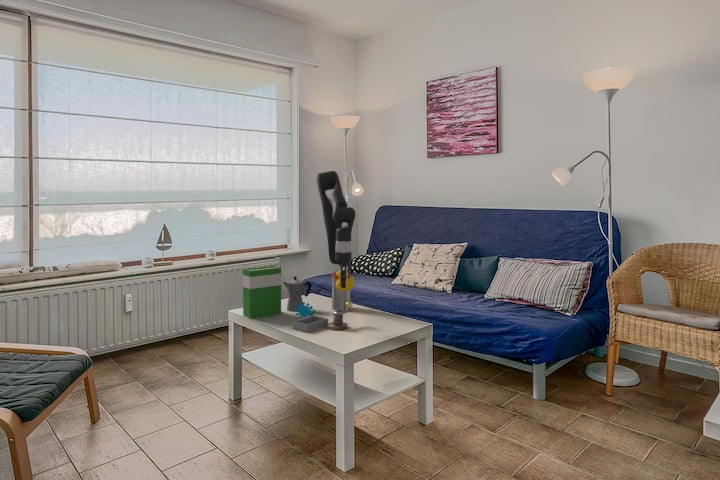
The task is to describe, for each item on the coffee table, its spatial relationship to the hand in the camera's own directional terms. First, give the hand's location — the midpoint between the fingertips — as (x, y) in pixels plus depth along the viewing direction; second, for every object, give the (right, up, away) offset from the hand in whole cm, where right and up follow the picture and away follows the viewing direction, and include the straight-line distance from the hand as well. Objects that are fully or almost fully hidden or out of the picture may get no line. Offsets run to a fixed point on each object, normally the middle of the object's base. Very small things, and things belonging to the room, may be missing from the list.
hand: (343, 286), depth 223 cm
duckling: (0, -3, 0) cm, 3 cm away
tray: (-15, -19, +2) cm, 25 cm away
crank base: (-2, -20, +2) cm, 20 cm away
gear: (-20, -18, +18) cm, 32 cm away
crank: (0, -13, +4) cm, 14 cm away
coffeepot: (-26, -16, +35) cm, 47 cm away
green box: (-42, -17, +24) cm, 52 cm away
